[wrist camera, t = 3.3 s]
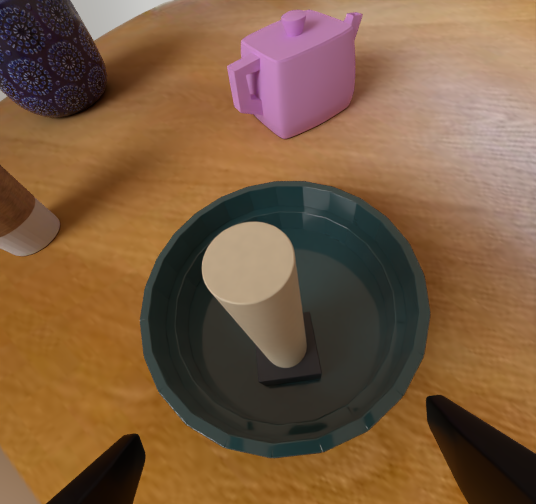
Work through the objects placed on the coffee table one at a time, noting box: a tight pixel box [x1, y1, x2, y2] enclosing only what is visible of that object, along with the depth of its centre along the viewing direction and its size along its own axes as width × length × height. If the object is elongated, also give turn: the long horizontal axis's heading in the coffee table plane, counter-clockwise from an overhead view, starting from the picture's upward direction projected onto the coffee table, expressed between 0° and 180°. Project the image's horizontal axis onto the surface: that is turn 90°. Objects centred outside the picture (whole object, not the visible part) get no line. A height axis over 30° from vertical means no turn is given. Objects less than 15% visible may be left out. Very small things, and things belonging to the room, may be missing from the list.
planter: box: [0, 0, 107, 118], centre depth 42 cm, size 17×16×15 cm
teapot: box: [227, 10, 363, 139], centre depth 32 cm, size 18×10×10 cm, turn 121°
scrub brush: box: [202, 222, 322, 386], centre depth 14 cm, size 4×4×14 cm
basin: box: [140, 181, 430, 458], centre depth 20 cm, size 18×18×6 cm
